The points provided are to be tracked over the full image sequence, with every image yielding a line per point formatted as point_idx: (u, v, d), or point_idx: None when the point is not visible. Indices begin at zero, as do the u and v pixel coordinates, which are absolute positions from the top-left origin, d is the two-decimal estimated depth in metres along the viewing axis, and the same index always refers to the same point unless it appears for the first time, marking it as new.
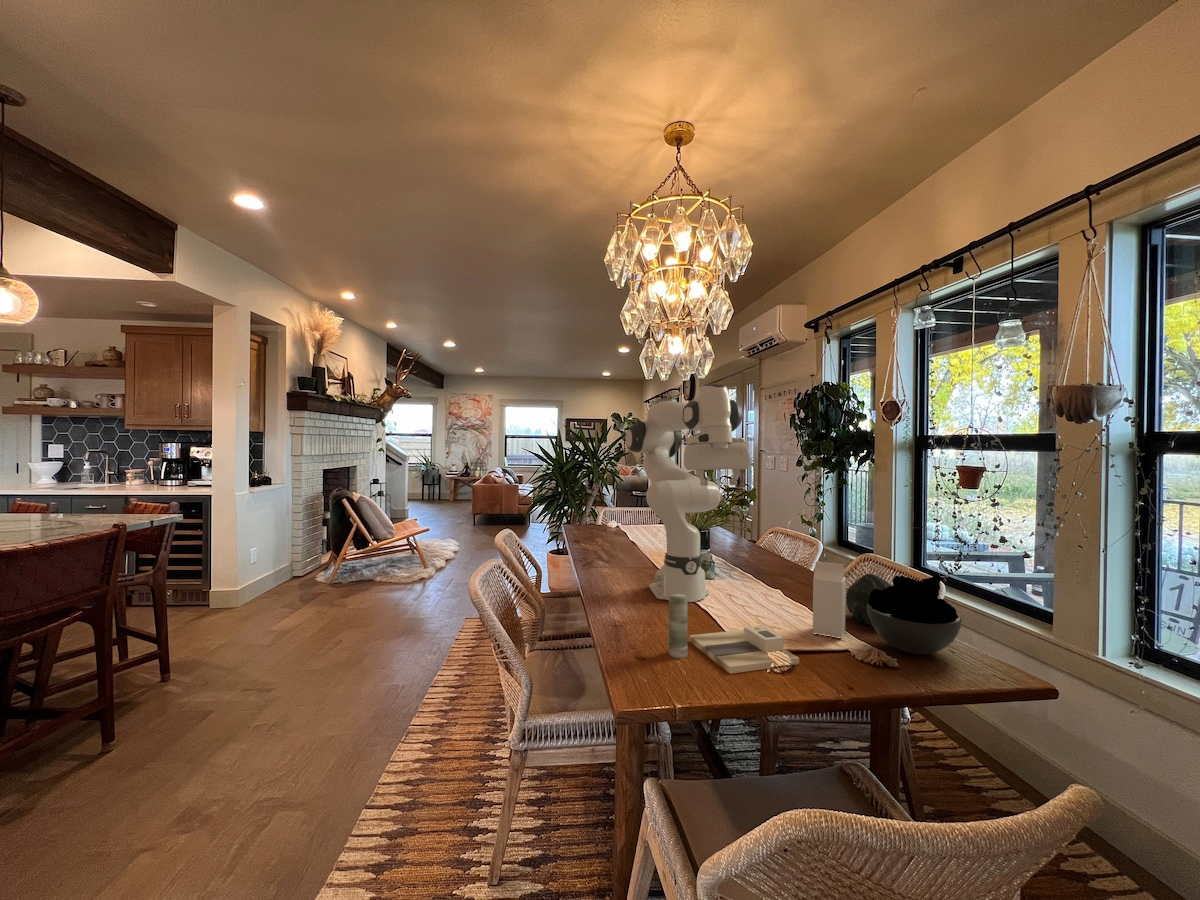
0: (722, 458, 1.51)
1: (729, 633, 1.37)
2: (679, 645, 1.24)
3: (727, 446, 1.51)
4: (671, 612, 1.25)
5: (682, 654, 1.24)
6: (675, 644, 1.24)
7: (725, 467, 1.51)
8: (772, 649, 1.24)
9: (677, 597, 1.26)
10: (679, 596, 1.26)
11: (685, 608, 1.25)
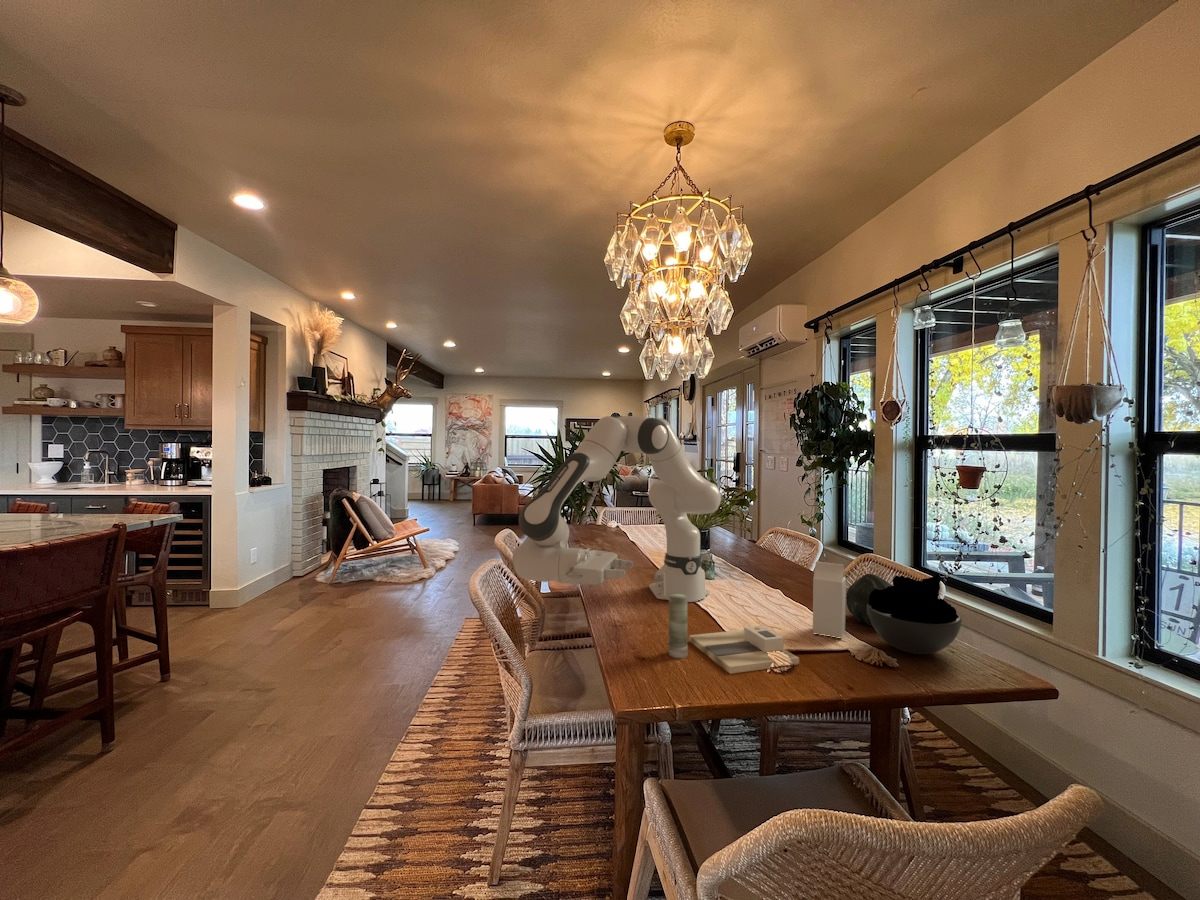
0: None
1: (729, 633, 1.37)
2: (679, 645, 1.24)
3: None
4: (671, 612, 1.25)
5: (682, 654, 1.24)
6: (675, 644, 1.24)
7: None
8: (772, 649, 1.24)
9: (677, 597, 1.26)
10: (679, 596, 1.26)
11: (685, 608, 1.25)
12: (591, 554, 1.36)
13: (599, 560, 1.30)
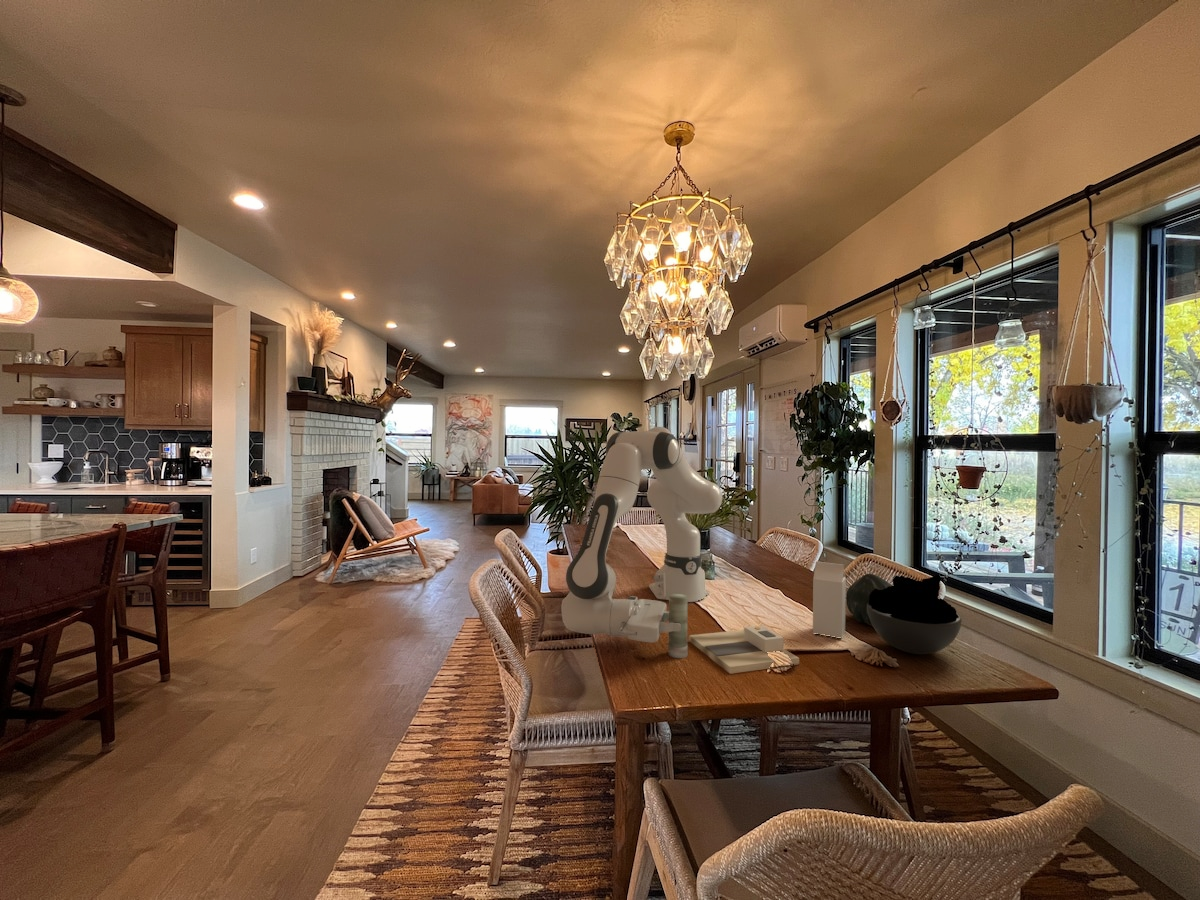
0: None
1: (729, 633, 1.37)
2: (679, 645, 1.24)
3: None
4: (671, 612, 1.25)
5: (682, 654, 1.24)
6: (675, 644, 1.24)
7: None
8: (772, 649, 1.24)
9: (677, 597, 1.26)
10: (679, 596, 1.26)
11: (685, 608, 1.25)
12: (640, 605, 1.33)
13: (651, 613, 1.28)
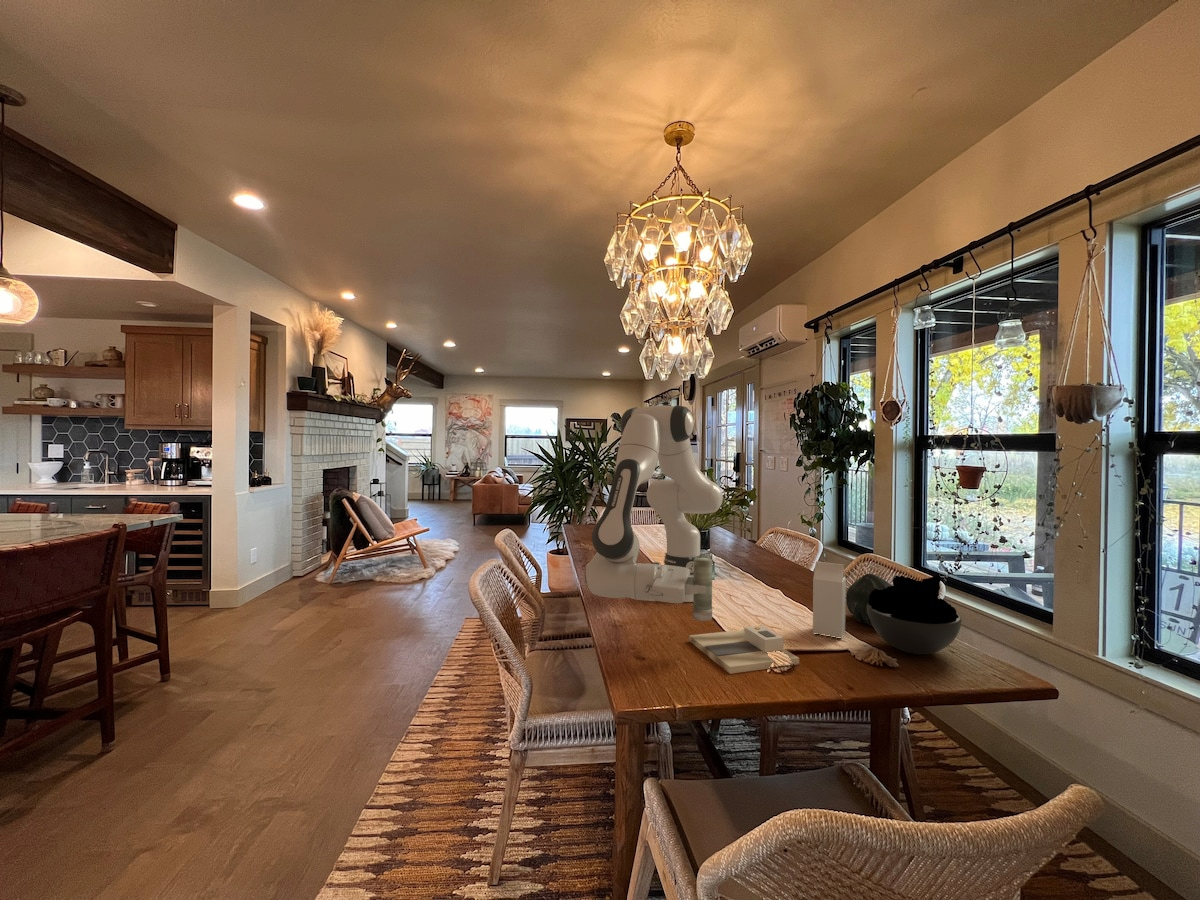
0: None
1: (729, 633, 1.37)
2: (704, 608, 1.24)
3: None
4: (696, 575, 1.25)
5: (707, 616, 1.24)
6: (700, 607, 1.24)
7: None
8: (772, 649, 1.24)
9: (701, 560, 1.25)
10: (704, 559, 1.26)
11: (710, 571, 1.25)
12: (664, 570, 1.33)
13: (675, 576, 1.27)
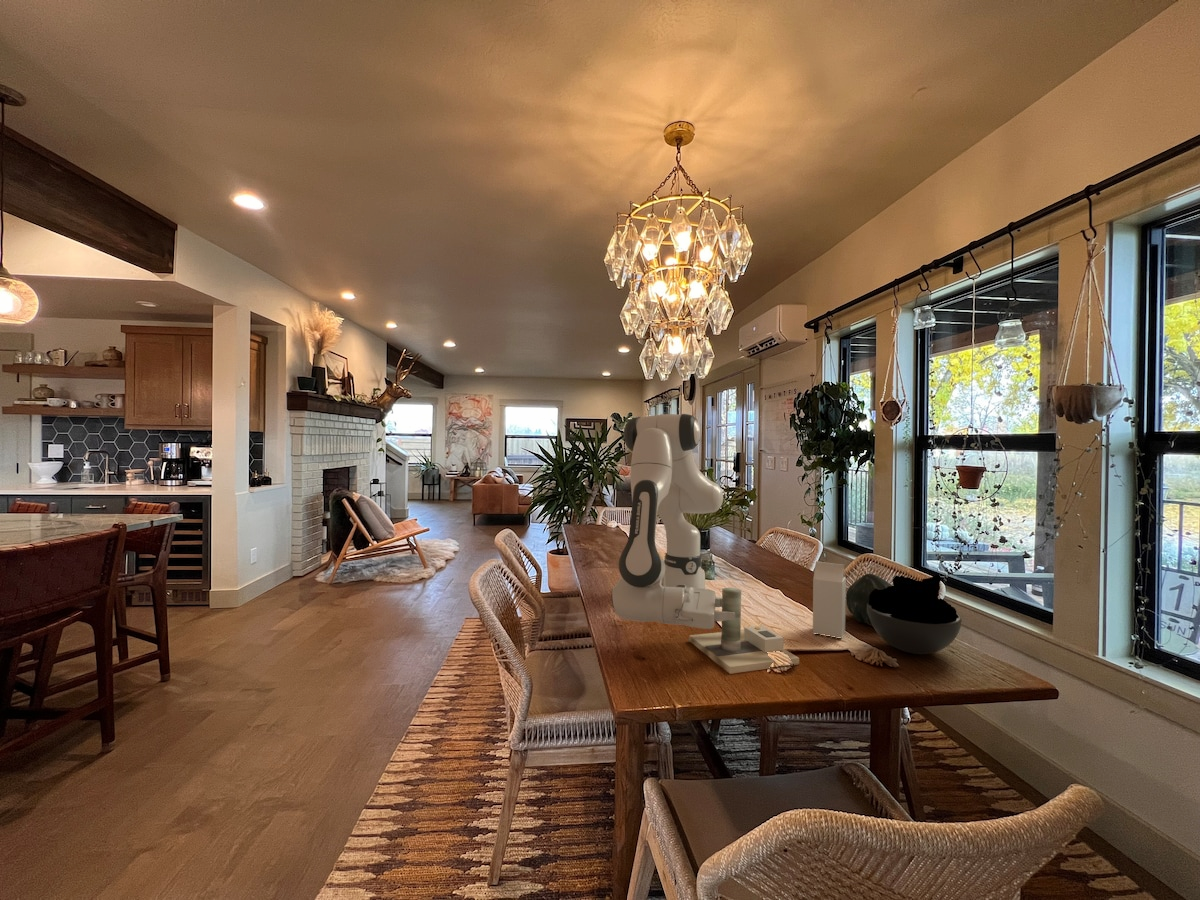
0: None
1: None
2: (733, 639, 1.24)
3: None
4: (725, 606, 1.24)
5: (735, 648, 1.24)
6: (729, 638, 1.24)
7: None
8: (772, 649, 1.24)
9: (730, 591, 1.25)
10: (732, 590, 1.26)
11: (739, 602, 1.24)
12: (691, 592, 1.32)
13: (703, 600, 1.27)
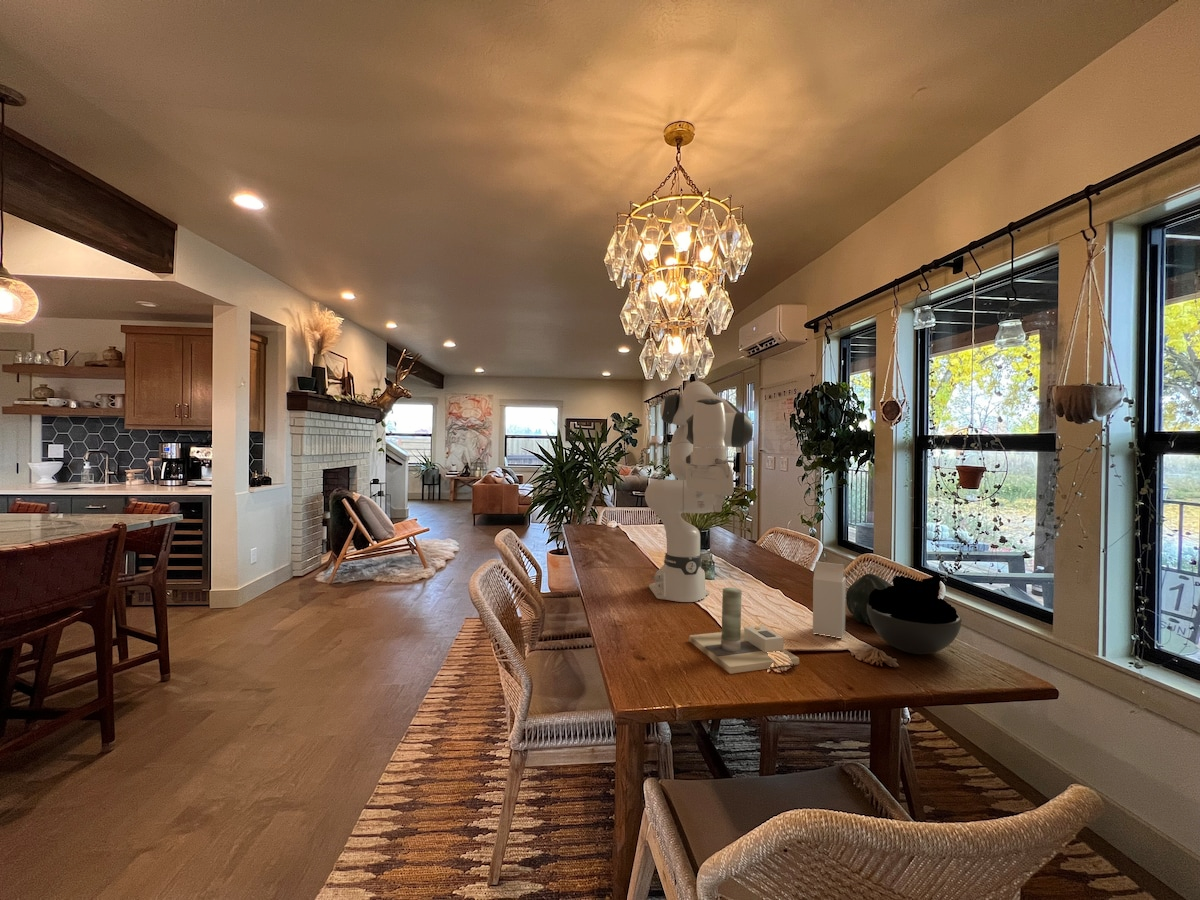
0: (704, 481, 1.41)
1: None
2: (733, 639, 1.24)
3: (705, 469, 1.39)
4: (725, 606, 1.24)
5: (736, 648, 1.24)
6: (729, 638, 1.24)
7: (705, 491, 1.40)
8: (772, 649, 1.24)
9: (731, 591, 1.25)
10: (733, 590, 1.26)
11: (740, 602, 1.24)
12: None
13: None
